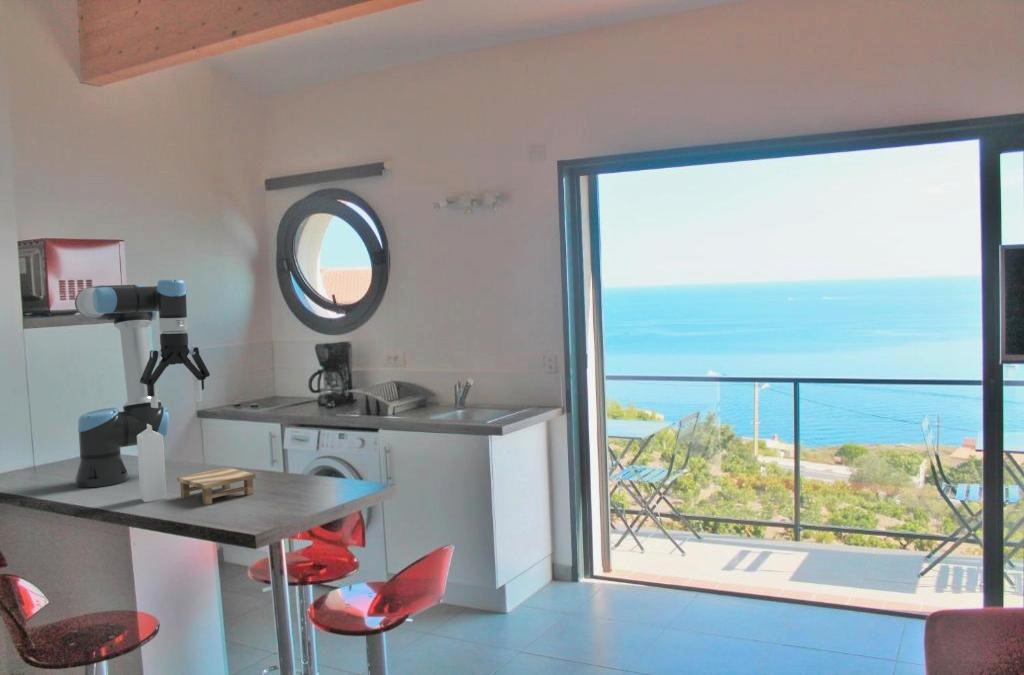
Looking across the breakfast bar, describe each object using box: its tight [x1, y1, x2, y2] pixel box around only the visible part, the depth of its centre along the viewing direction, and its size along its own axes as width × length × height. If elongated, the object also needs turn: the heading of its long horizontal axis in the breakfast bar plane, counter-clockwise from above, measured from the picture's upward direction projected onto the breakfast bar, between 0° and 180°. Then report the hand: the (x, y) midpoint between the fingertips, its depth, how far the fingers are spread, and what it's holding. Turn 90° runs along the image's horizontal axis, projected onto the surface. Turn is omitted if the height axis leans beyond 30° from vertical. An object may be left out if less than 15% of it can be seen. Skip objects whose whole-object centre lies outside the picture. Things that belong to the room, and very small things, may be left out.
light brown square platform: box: [176, 466, 256, 506], centre depth 235 cm, size 16×16×6 cm
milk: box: [136, 424, 167, 503], centre depth 233 cm, size 6×6×22 cm
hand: (177, 404), depth 233 cm, fingers open, 13 cm apart
